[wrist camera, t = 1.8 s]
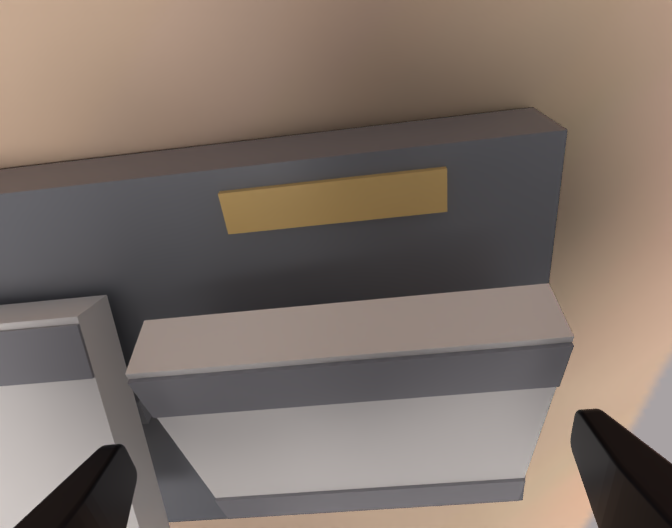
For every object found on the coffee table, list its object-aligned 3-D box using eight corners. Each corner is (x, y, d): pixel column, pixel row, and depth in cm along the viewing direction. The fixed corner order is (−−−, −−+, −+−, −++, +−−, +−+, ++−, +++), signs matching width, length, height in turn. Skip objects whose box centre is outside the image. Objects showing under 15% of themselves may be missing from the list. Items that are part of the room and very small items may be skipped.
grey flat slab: (503, 454, 18) (517, 503, 16) (236, 472, 18) (229, 520, 17) (548, 283, 12) (576, 340, 10) (144, 320, 12) (123, 378, 11)
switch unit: (504, 448, 22) (530, 524, 19) (-2, 483, 23) (-53, 558, 20) (533, 107, 14) (584, 141, 11) (-216, 194, 16) (-348, 245, 13)
